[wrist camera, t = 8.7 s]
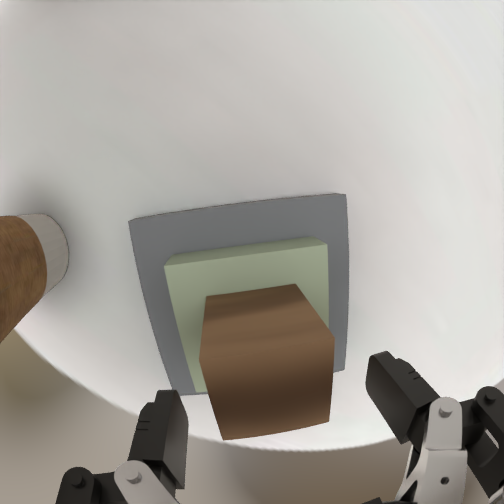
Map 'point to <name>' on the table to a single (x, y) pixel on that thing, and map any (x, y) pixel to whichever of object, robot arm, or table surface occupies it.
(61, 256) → the coffee cup
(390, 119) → the table surface
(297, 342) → the walnut block
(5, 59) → the table surface
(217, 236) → the stack base
